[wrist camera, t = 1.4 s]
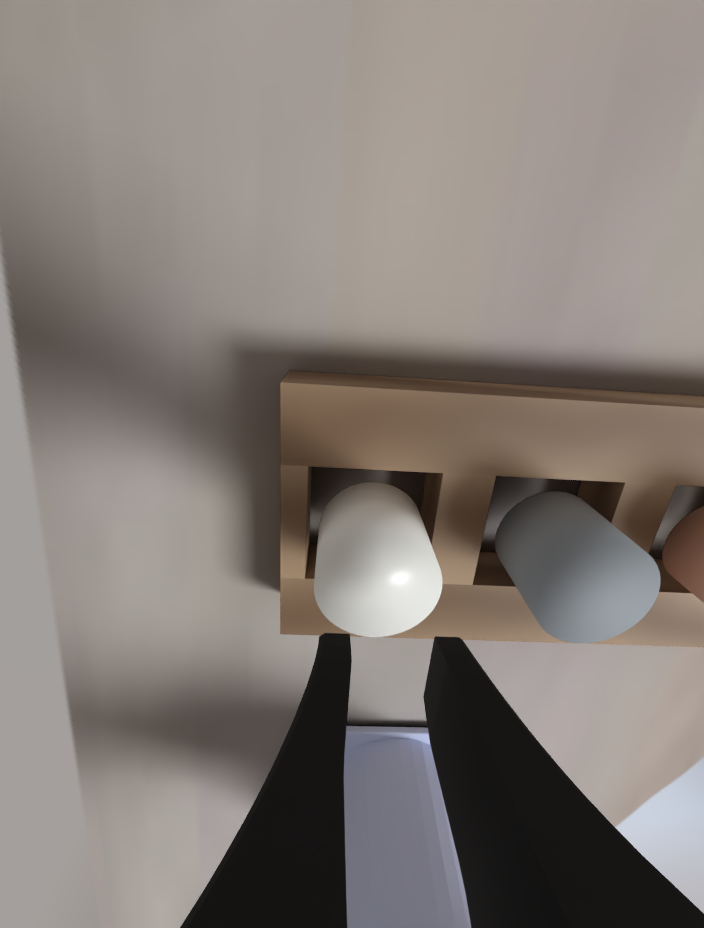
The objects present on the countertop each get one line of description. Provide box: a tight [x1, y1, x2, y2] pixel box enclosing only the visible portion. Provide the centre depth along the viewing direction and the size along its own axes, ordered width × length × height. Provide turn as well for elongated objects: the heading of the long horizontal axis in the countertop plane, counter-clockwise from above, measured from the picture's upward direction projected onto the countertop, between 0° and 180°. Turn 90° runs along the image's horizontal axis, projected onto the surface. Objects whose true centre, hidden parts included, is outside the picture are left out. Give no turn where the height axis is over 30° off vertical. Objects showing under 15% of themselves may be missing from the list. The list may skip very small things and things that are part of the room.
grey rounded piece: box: [495, 491, 661, 643], centre depth 15 cm, size 4×4×4 cm
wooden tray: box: [280, 370, 704, 647], centre depth 17 cm, size 11×21×2 cm, turn 86°
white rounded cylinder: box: [314, 482, 442, 637], centre depth 14 cm, size 4×4×4 cm
